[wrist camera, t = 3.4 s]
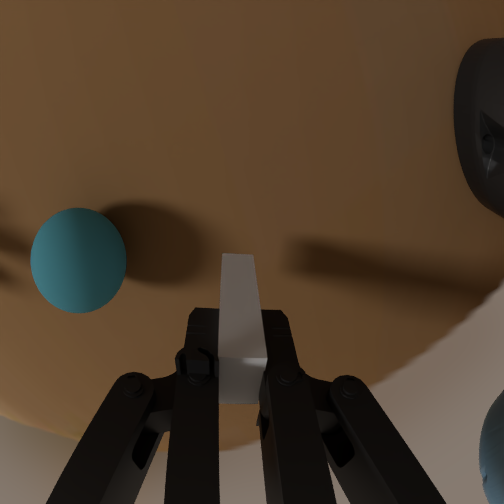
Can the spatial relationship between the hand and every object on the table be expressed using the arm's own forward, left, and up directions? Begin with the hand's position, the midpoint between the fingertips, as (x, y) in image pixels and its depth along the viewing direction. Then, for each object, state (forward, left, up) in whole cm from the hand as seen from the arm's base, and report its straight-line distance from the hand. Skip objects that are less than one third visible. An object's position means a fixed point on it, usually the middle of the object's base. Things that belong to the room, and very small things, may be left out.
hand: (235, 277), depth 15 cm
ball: (+9, +3, -1) cm, 9 cm away
